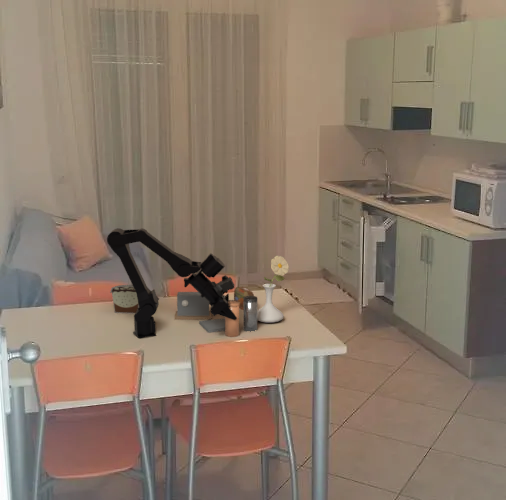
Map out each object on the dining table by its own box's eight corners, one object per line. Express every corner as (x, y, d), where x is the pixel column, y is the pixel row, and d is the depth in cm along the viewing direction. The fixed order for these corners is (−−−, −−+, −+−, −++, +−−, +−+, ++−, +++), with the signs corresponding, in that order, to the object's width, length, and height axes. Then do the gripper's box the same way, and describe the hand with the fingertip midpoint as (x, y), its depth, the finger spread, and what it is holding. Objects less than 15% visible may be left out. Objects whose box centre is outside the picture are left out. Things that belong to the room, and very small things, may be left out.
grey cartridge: (247, 332, 248) (247, 300, 245) (241, 328, 252) (241, 296, 249) (259, 330, 250) (259, 298, 247) (253, 326, 254) (253, 295, 252)
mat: (208, 332, 247) (208, 330, 247) (199, 323, 257) (199, 321, 257) (237, 329, 251) (237, 326, 251) (227, 320, 261) (227, 318, 261)
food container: (145, 309, 275) (145, 284, 273) (141, 313, 269) (141, 288, 267) (115, 308, 276) (114, 283, 274) (110, 312, 270) (110, 287, 268)
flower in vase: (258, 326, 254) (259, 260, 249) (250, 317, 265) (250, 253, 260) (292, 323, 258) (293, 258, 253) (282, 314, 269) (283, 251, 263)
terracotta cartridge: (228, 337, 242) (228, 304, 239) (222, 333, 246) (222, 301, 244) (241, 335, 244) (241, 302, 242) (235, 331, 248) (235, 299, 246)
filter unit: (174, 319, 262) (174, 296, 260) (176, 313, 270) (175, 290, 268) (211, 319, 262) (211, 296, 260) (211, 313, 270) (211, 290, 268)
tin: (233, 304, 282) (233, 284, 280) (240, 303, 283) (240, 283, 282) (248, 314, 269) (248, 293, 267) (255, 313, 270) (256, 292, 268)
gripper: (220, 277, 231) (252, 309, 234) (221, 264, 249) (251, 294, 252) (196, 299, 233) (229, 331, 235) (199, 285, 251) (230, 314, 253)
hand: (236, 316), depth 244 cm, fingers closed on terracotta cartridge, 5 cm apart
